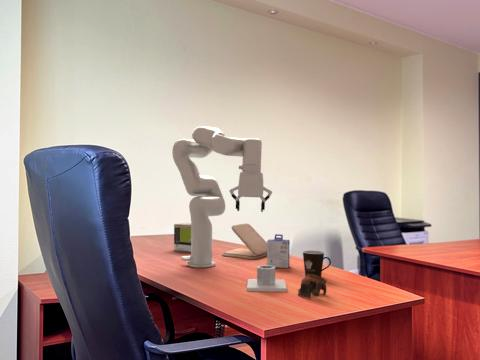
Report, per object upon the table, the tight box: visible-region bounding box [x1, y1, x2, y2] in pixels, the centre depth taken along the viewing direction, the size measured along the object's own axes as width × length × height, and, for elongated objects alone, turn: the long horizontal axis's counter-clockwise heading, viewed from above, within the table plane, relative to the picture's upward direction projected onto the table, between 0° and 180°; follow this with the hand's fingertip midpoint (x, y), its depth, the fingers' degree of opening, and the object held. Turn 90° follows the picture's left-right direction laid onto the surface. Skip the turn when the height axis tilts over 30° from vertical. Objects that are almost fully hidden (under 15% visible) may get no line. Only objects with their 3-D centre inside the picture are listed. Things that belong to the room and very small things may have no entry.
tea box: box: [173, 222, 191, 253], centre depth 247 cm, size 15×10×15 cm, turn 58°
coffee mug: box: [302, 250, 332, 278], centre depth 181 cm, size 12×9×10 cm
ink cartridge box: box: [266, 233, 291, 269], centre depth 203 cm, size 10×6×14 cm, turn 78°
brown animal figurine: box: [297, 274, 327, 299], centre depth 152 cm, size 12×10×8 cm
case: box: [221, 223, 267, 260], centre depth 233 cm, size 20×21×16 cm
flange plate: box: [246, 278, 288, 293], centre depth 165 cm, size 14×14×5 cm
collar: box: [256, 264, 276, 286], centre depth 165 cm, size 7×7×6 cm
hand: (250, 211), depth 181 cm, fingers open, 9 cm apart
